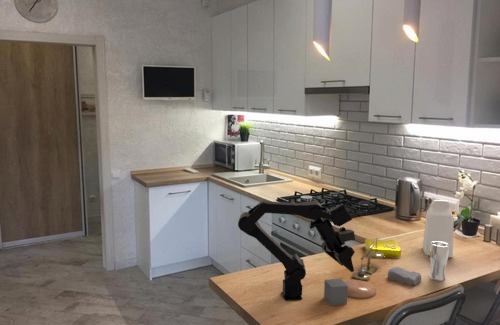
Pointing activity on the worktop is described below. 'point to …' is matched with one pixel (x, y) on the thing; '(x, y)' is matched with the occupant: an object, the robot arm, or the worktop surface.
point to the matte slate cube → (335, 291)
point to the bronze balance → (368, 264)
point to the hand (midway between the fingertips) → (347, 268)
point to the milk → (438, 226)
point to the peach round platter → (360, 289)
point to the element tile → (384, 247)
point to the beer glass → (438, 260)
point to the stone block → (404, 276)
